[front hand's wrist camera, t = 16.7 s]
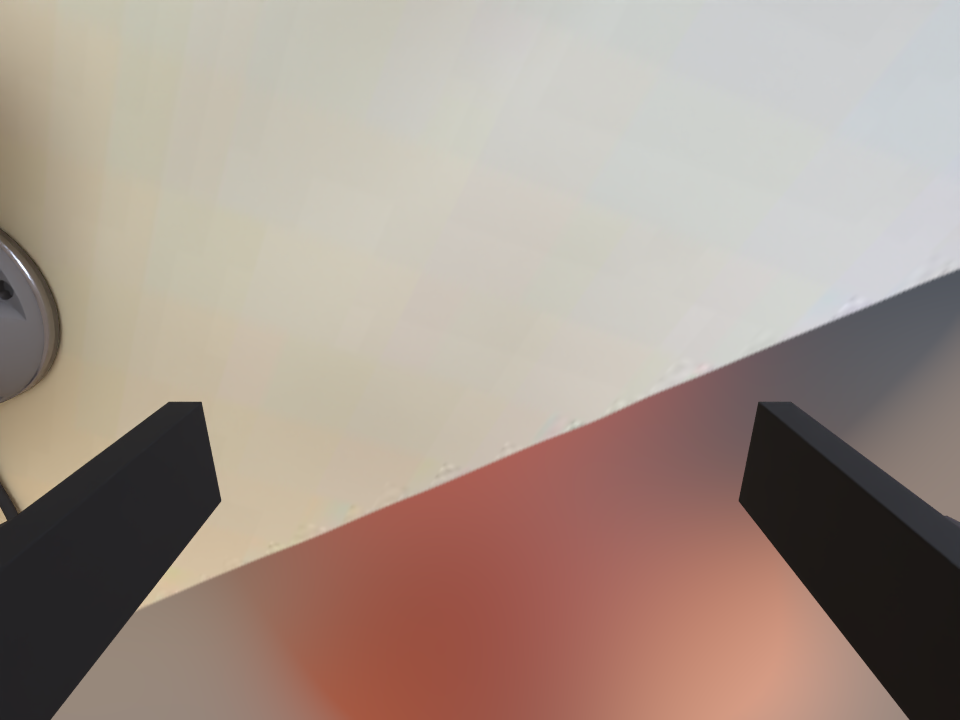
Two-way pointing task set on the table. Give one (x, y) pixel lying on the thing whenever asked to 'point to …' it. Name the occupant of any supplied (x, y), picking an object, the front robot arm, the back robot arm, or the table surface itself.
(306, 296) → the table surface
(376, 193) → the table surface
